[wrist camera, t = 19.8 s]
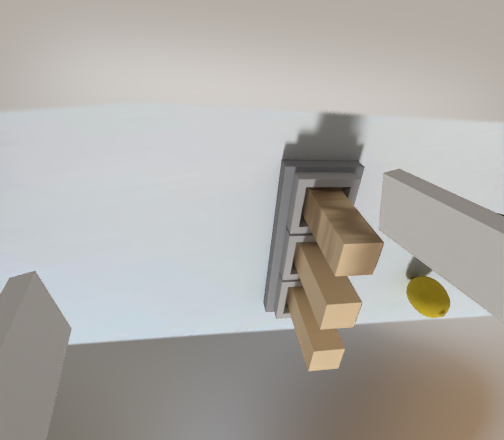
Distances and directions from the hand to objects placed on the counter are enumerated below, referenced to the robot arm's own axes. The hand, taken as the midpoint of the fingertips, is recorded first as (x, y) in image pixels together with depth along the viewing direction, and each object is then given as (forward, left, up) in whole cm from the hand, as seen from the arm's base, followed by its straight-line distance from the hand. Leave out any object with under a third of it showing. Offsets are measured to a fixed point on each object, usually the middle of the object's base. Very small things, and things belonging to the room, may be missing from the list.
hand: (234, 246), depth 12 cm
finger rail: (+14, -20, -26) cm, 36 cm away
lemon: (+35, -29, -26) cm, 52 cm away
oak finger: (+14, -12, -24) cm, 30 cm away
